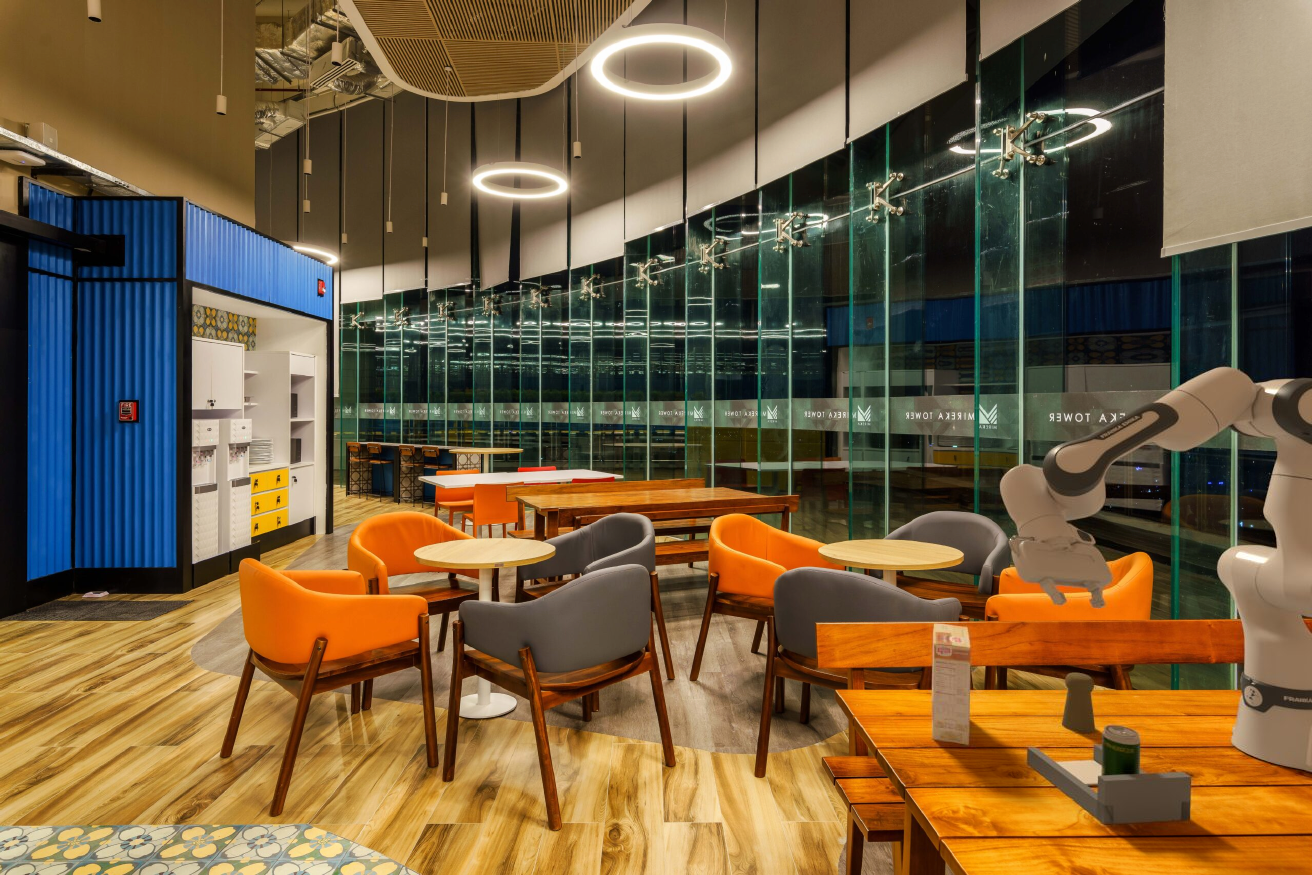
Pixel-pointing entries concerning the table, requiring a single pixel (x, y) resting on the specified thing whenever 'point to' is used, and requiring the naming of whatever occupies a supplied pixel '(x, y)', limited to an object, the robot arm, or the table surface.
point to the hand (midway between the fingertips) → (1080, 605)
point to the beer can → (1120, 751)
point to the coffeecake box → (951, 684)
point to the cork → (1079, 703)
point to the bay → (1117, 789)
